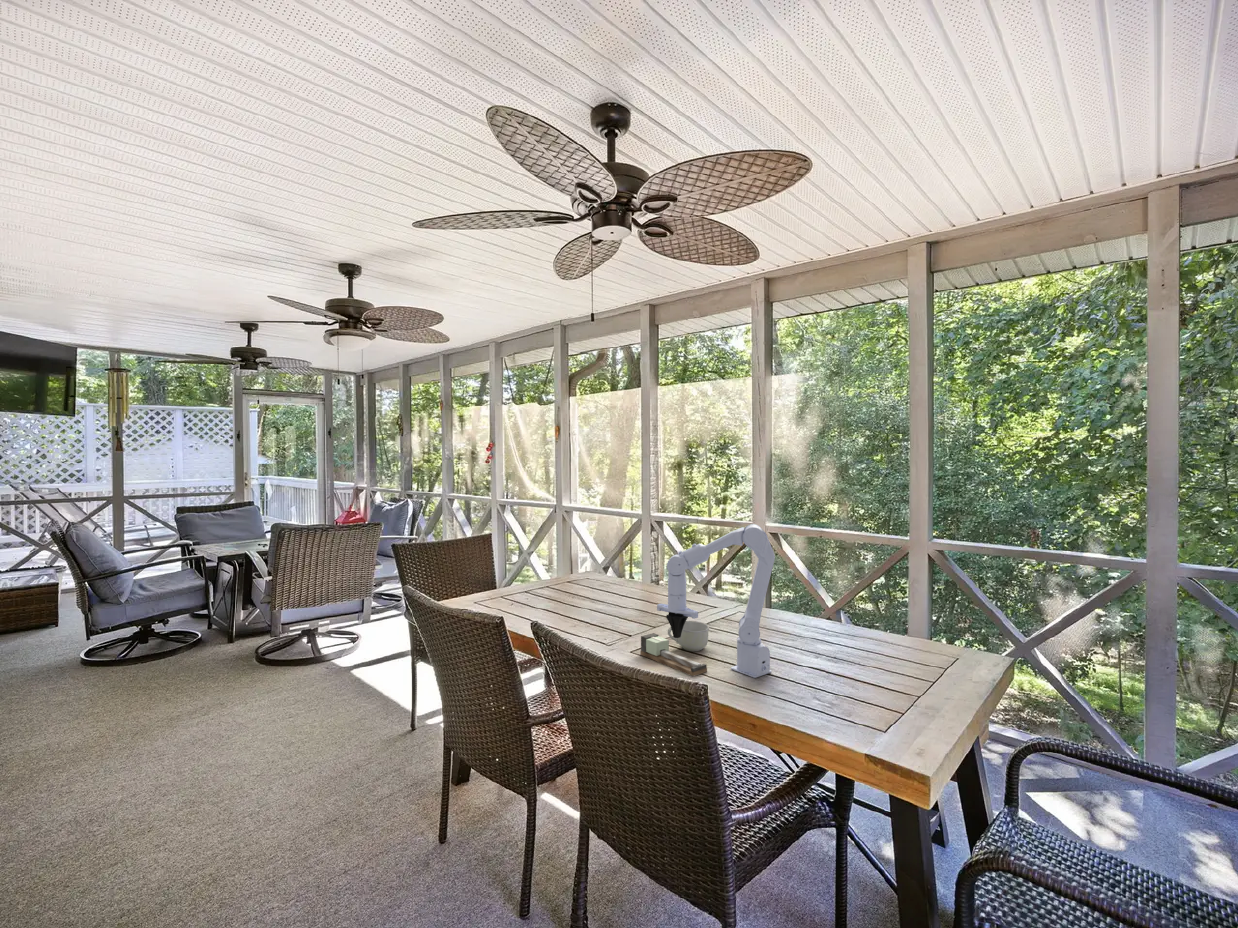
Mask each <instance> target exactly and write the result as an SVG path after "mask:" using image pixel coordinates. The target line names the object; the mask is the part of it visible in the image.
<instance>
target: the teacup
mask: <svg viewBox="0 0 1238 928" xmlns="http://www.w3.org/2000/svg"><path fill="white" fill-rule="evenodd" d="M709 629H710V625H708V624H707V623H705V622H701V621H697V620H686V622H685V624H684V626H683V629H682V633H681V637H680V638H674V637H673V634H672V629H671V626H670V627H668V629H667V635H668V637H669V638H670V639H671V640H673V641H674V642H675V643H676V644H678V645H679V646H680V647H681V648H682V649H684V650H685V651H688V652H700V651H702V650H703V649H705V647H707V645H708V642H709V631H710V630H709Z"/></svg>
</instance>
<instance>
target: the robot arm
mask: <svg viewBox="0 0 1238 928" xmlns="http://www.w3.org/2000/svg"><path fill="white" fill-rule="evenodd" d="M743 543H744V545H745V546H747V548H749V549H750V550H752V551H753V553H754V554H755V556H756V557H757V565H756V568H755V572H754V576H753V580H752V582H751V583H752V584H751V588H750V592H749V596H748V600H747V604H746V607H745V610H744V614H743V616H741V618H740V619H739V622H738V637H737V638H736V665H734V666H731V667H730V669H731V671H735V672H738V673H741V674H743V675H746V676H749V677H751V678H753V679H755V678H759V677H761V676H765V675H767V674H771V673H772V669H771V666H770V665H771V652H770V649H769V647H768V646H766V645H764V643H763V642H762V638H760V637H761V631H760V623H761V618H762V612H763V609H764V608H763V607H764V603H765V600H766V595H767V592H768V587H769V584H770V581H771V580H770V578H771V575H772V571H773V567H774V563H775V559H776V555H775V552H774V548H773V546H772V544H771V542H770V540H769V538H768V535H767V533H766V532H765V530H764V529H763V528H762V527H761V526H760V525H759V524H756V523H751V524H748V525H746V526H745V527H743V526H742V527H739V528H737V529H735V530H732V531H730V532H728V533H726V534H724V535H722V536H721V537H718V538H717V539H715V540H713V541H711V542H709V543H707V544H702V543H693V544H692V545H691V547H689V548H687V549H685V550H683V551H682V550H680V551H678V552H677V554H673V555H672V556H671V557H670V558H669V559H668V561H667V563H666V569H667V572H668V573H667V576H668V577H667V604H665V603H659V604H656V611H657V612H665V613H667V614H666V615H665V619H666V620H667V621H668V623H669V625H670V627H671V629H672V630H671V634H672V636H673V637H674V638H680V637H681V633H682V629H683V626H684V624H685V622H686V621H688V619H689V618H692V619H694V620H695V619H698V618H699V610H695V609H692V608H689V607H688V606H687V578H686V577H687V574H686V570H687V569H688V570H690V569H693V568H695V567H697V566H699V565H701V564H703V563H706V562H707V561H708V560H709V557H710V555H713V554H714V553H717V552H719V551H721V550H724V549H726V548H728V547H731V546H743Z"/></svg>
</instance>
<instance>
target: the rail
mask: <svg viewBox="0 0 1238 928" xmlns="http://www.w3.org/2000/svg"><path fill="white" fill-rule="evenodd" d="M657 636H660V635H659V634H657V633H656V632H655V633H654V632H653V633H649V634H644V635H641V636H640V653H639V654H640V655H641V656H643V657H645V658H648V659H650V660H653V661H655V662H657V663H661V664H662V665H665V666H667V667H670V668H673V669H675V670H677V671H680V672H682V673H685V674H686V675H689V676H691V677H696V676H697V675H700V674H704V673H707V672H708V667H707V664H706V663H699V662H697V661H694V660H692V659H689V658H687V657H683V656H682V655H678V654H676V653H674V652H672V651H669V652H668V651H666V650H660V655H658V656H655V655H653V654H650V653H648V652H646V639H649V638H651V637H657Z"/></svg>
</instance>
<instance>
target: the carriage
mask: <svg viewBox="0 0 1238 928" xmlns="http://www.w3.org/2000/svg"><path fill="white" fill-rule="evenodd" d="M669 644H670V640H669V639H668V638H665V637H662V636H660V635H659V636H657V637H651V638H649V639H646V652H648V653H650V654H653V655H655V656H658V655H660V650H666V651H668V652H670V645H669Z"/></svg>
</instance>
